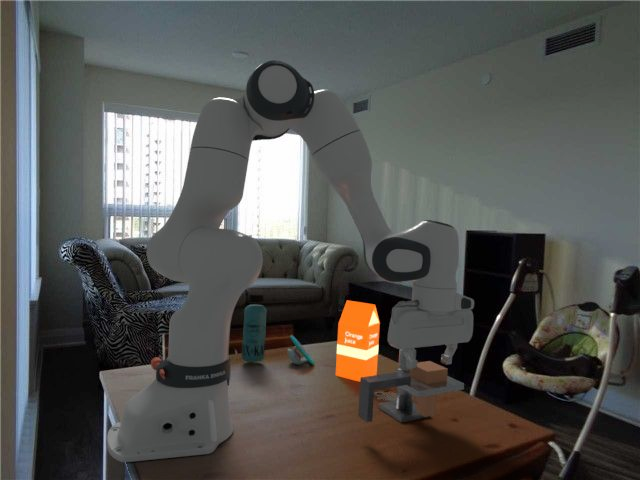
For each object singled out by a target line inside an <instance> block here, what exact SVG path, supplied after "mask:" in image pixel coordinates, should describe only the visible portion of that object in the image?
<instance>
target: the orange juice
mask: <svg viewBox="0 0 640 480" xmlns="http://www.w3.org/2000/svg"><path fill="white" fill-rule="evenodd" d="M377 310H378V309H377V307H376V304H373V303H367V302H361V301H353V300H346V302H345V304H344V307H343V310H342V313H341V316H340V318H339V321H338V325H337V326H338V327H337V343H336V359H335V360H336V364H335V365H336V366H335V376H336V377H340V378H344V379H347V380H352V381H355V382H358V383H360V378H361V377H367V376H374V375H378V374H377V373H378V360H379V359H378V358H379V346H380V345H379V341H380V340H379V339H380V325H381V322H380V319H379V315H378V311H377Z"/></svg>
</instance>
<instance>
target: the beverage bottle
mask: <svg viewBox="0 0 640 480" xmlns="http://www.w3.org/2000/svg"><path fill="white" fill-rule="evenodd" d="M264 296H265V295H264V293H257V292H256V293H255V292H253V293H251V292H250V294H249V296H248V297H249V298H248V302H250V303H264V301H265V299H264V298H265V297H264ZM267 311H268V310H267V308H266V307H265V306H264V305H262V304H249V305H247V306H246V307H245V308H244V315H243V317H244V319H243V326H242V329H243V330H242V331H243V332H242V337H241V338H242V344H241V360H243V362H244V361H245V362H249V363H258V362H262V361H263V360H264V359H265V354H266V352H265V349H266V338H267V337H266V336H267V335H266V330H267V326H266V325H267V313H268V312H267Z"/></svg>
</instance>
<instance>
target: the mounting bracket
mask: <svg viewBox="0 0 640 480" xmlns="http://www.w3.org/2000/svg"><path fill="white" fill-rule="evenodd" d="M390 392H392V393H393V392H394V391H389V393H390ZM377 393H379V394H377ZM389 393H388V394H389ZM392 393H391V394H392ZM381 394H382V395H381ZM385 394H386V393H385ZM385 394H384V393H383V392H380V391H374V397H376V396H377V397H382V399H383V396H384V398H385V400H384V399H383V400H382V401H386V402H390V401H395V400H396V399H397V395H396V394H397V393H396V394H395V393H393V394H392V395H391V394H390V395H391V396H392V397H391V396H390V395H388V394H386V395H387V396H386V395H385ZM394 394H395V395H394ZM385 396H386V397H385ZM393 397H394V398H393ZM386 398H387V399H386ZM380 399H381V398H380ZM380 399H379V398H377V399H376V400H380Z"/></svg>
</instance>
